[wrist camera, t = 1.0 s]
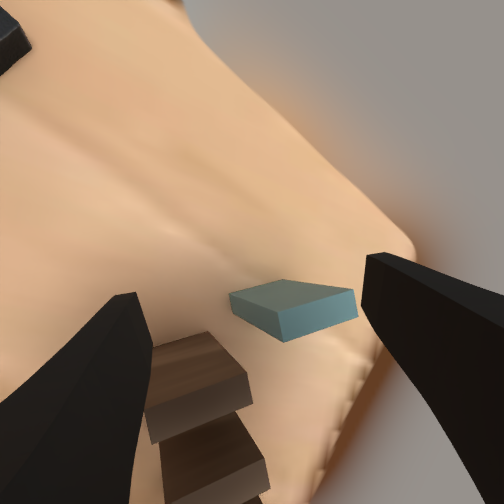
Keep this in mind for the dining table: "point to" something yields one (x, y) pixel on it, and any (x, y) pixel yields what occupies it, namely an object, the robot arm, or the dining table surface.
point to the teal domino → (293, 307)
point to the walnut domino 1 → (192, 386)
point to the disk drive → (11, 41)
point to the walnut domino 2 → (213, 464)
